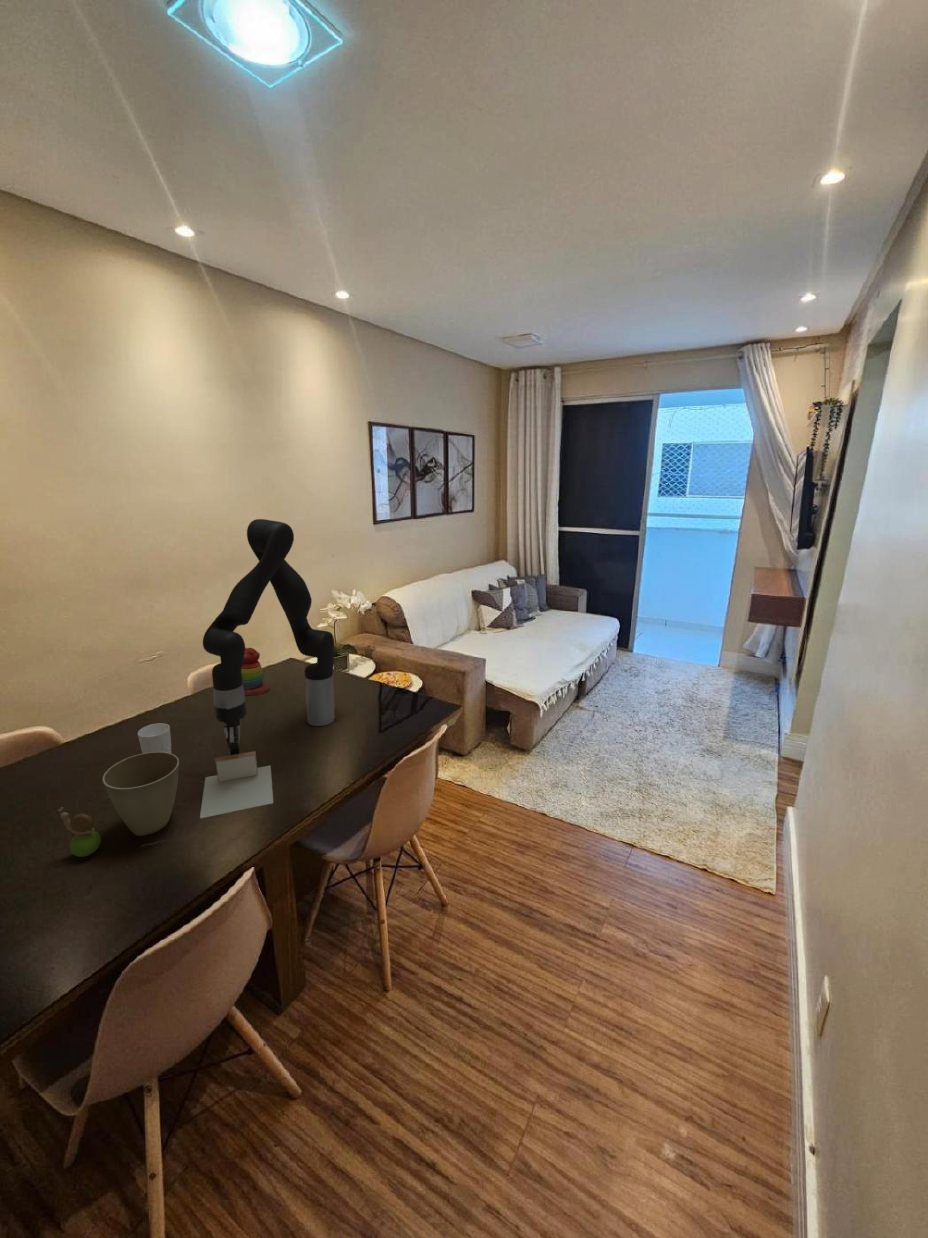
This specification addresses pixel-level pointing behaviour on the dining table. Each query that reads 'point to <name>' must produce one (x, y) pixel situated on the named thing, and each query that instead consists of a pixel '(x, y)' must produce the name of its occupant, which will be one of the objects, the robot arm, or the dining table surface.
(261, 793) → the mat
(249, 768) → the tile
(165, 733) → the white cup
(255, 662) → the stacking bear
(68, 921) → the dining table surface
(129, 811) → the plant pot
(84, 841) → the snail figurine
